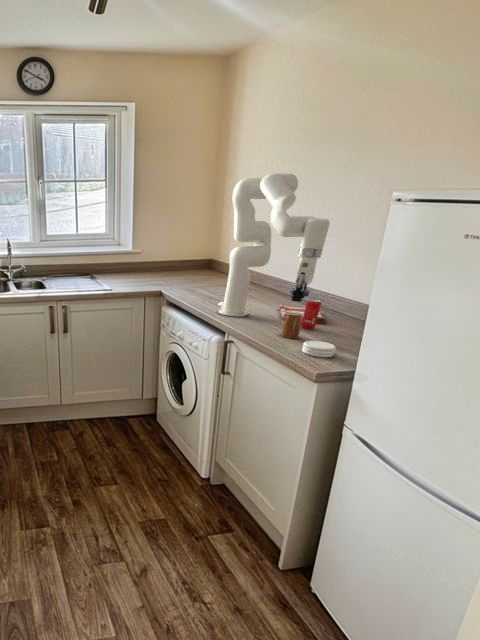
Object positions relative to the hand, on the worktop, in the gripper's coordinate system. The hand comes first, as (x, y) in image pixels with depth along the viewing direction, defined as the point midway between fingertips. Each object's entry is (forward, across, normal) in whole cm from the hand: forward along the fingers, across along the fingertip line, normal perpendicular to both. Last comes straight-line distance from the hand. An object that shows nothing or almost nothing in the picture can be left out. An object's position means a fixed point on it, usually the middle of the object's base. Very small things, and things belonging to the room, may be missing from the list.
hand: (297, 299), depth 179 cm
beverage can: (+16, +18, -4) cm, 24 cm away
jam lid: (-3, 0, 0) cm, 3 cm away
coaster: (+15, -18, -12) cm, 26 cm away
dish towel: (+16, +40, +2) cm, 43 cm away
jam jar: (+15, 0, 0) cm, 15 cm away
